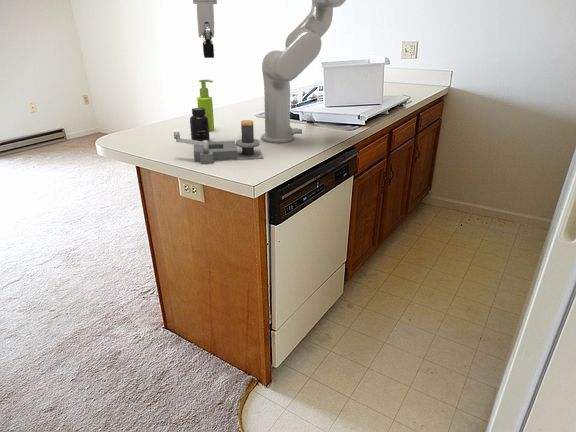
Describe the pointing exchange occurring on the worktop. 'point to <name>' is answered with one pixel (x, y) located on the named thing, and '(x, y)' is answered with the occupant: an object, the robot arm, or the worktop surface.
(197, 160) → the grey flat block
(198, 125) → the supplement bottle
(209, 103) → the soap dispenser
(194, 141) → the clip
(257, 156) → the mat
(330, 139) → the worktop surface
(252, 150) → the plug
